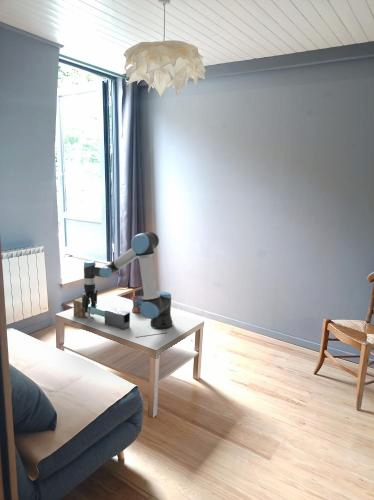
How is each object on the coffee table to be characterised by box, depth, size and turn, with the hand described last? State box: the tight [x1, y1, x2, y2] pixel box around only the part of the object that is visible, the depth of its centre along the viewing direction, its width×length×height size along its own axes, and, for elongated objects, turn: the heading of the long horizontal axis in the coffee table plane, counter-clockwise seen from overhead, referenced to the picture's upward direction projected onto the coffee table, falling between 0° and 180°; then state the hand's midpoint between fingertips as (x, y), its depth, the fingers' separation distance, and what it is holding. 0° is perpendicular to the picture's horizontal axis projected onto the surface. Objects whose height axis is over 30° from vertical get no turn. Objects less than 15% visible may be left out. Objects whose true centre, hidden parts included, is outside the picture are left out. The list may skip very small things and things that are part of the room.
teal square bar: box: [83, 301, 108, 318], centre depth 256 cm, size 28×6×6 cm, turn 60°
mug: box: [131, 295, 143, 314], centre depth 276 cm, size 12×9×11 cm
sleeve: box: [104, 306, 131, 331], centre depth 247 cm, size 16×7×10 cm, turn 60°
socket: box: [73, 296, 91, 319], centre depth 263 cm, size 8×8×12 cm
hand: (89, 315), depth 260 cm, fingers closed on teal square bar, 4 cm apart
